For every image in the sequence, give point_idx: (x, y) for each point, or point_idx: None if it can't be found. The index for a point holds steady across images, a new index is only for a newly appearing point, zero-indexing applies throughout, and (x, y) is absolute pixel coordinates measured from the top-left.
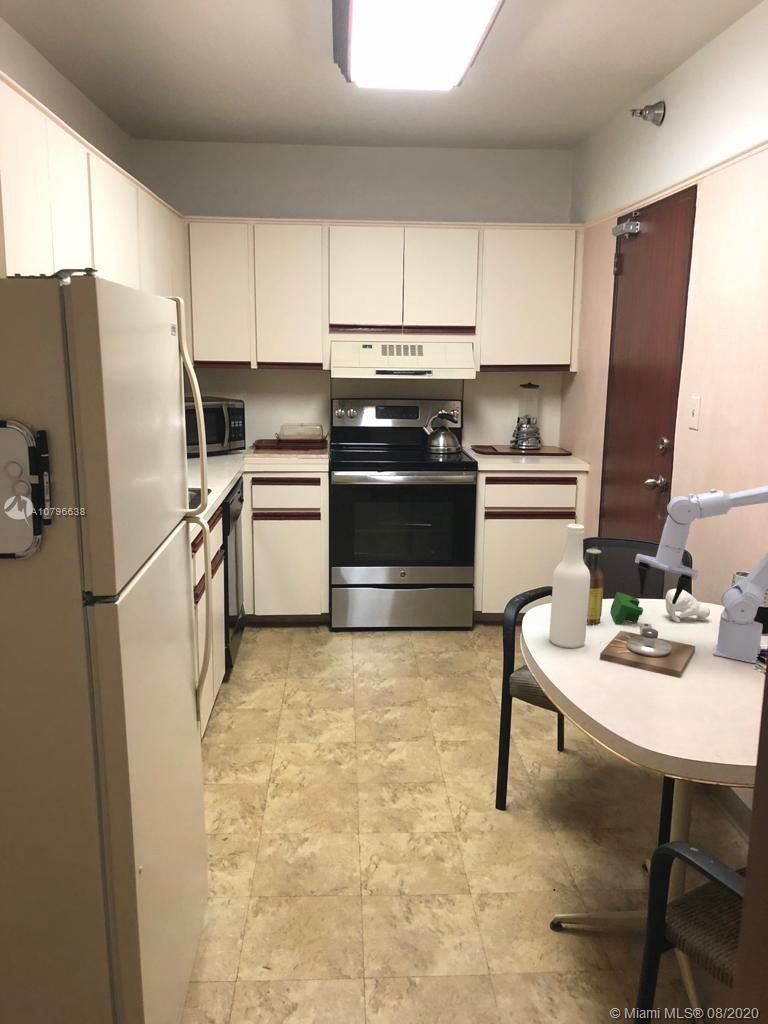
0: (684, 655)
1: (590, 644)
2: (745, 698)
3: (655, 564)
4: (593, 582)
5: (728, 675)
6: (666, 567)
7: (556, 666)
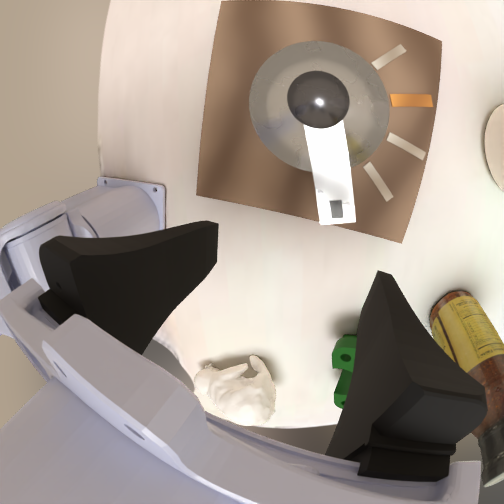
0: (216, 105)
1: (469, 146)
2: (117, 6)
3: (292, 475)
4: (500, 372)
5: (133, 83)
6: (57, 337)
7: (492, 4)
